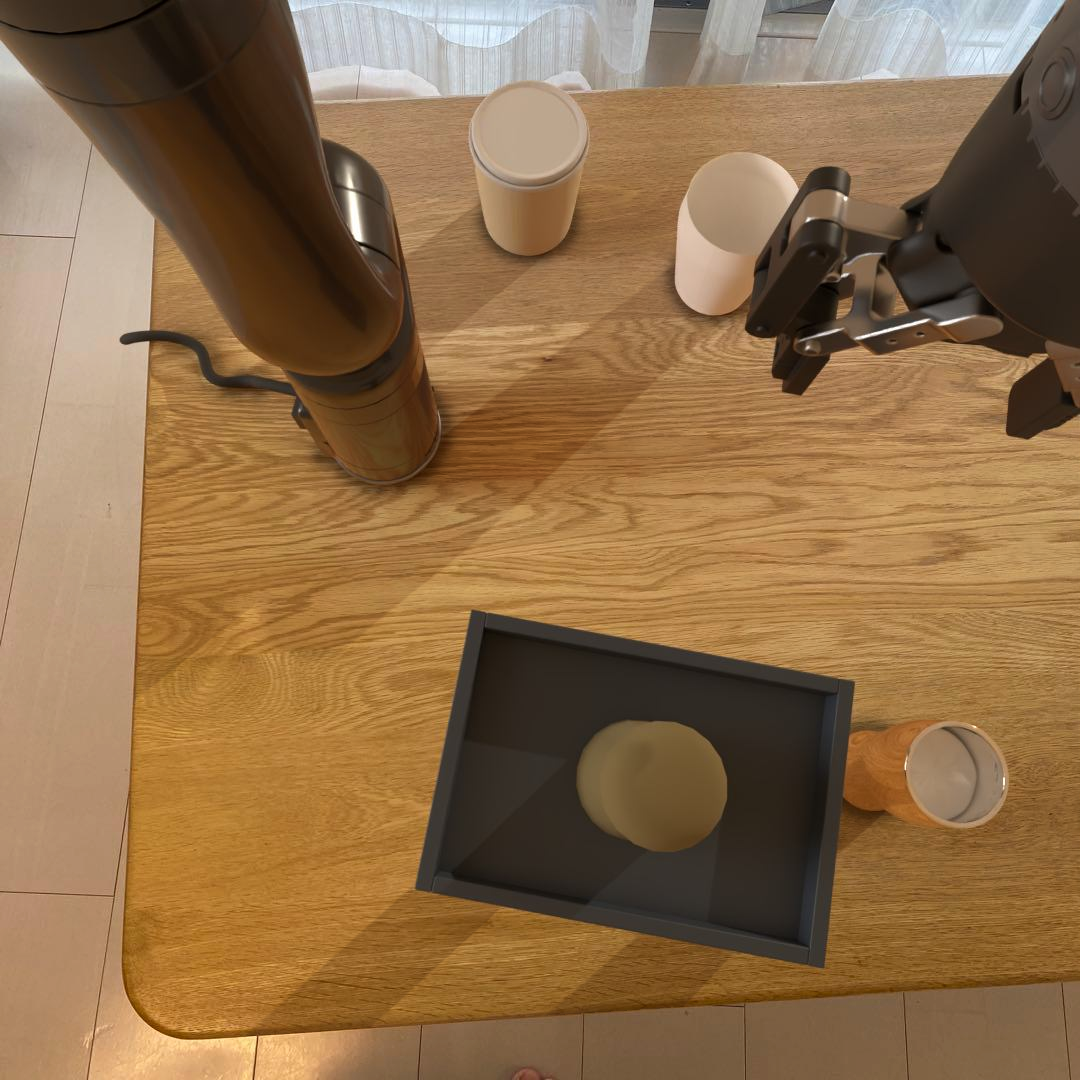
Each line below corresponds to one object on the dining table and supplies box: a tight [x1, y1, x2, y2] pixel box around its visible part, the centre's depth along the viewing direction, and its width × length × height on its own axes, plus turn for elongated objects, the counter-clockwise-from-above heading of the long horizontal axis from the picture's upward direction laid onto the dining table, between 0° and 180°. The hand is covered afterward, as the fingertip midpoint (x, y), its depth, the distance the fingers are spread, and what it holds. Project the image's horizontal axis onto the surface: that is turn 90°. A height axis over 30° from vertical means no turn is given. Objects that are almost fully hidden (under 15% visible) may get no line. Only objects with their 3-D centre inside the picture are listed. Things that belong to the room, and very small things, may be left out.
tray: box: [414, 609, 856, 969], centre depth 59 cm, size 20×14×28 cm
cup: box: [674, 151, 799, 316], centre depth 76 cm, size 9×9×12 cm
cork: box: [576, 719, 727, 852], centre depth 42 cm, size 6×6×11 cm
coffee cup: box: [468, 79, 591, 257], centre depth 77 cm, size 9×9×12 cm
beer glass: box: [843, 718, 1010, 830], centre depth 65 cm, size 7×7×15 cm
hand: (903, 392), depth 35 cm, fingers open, 8 cm apart
